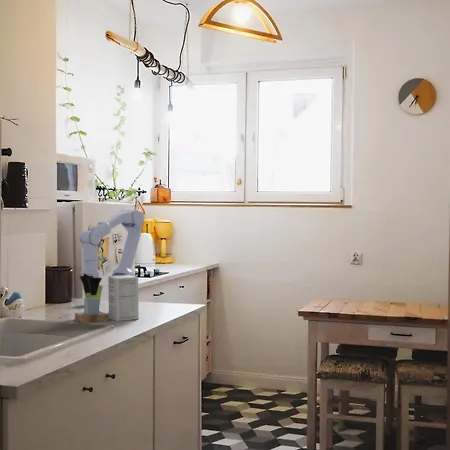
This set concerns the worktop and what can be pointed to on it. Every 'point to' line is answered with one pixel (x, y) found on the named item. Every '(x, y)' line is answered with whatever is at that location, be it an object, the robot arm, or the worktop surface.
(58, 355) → the worktop surface
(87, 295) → the plant pot
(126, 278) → the supplement box
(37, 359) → the worktop surface
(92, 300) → the slate block
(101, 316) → the tan flat square block
